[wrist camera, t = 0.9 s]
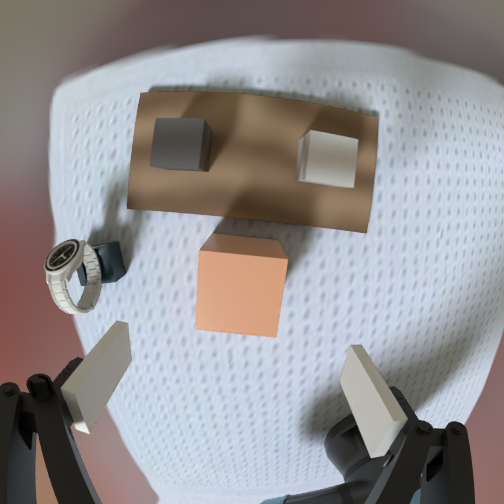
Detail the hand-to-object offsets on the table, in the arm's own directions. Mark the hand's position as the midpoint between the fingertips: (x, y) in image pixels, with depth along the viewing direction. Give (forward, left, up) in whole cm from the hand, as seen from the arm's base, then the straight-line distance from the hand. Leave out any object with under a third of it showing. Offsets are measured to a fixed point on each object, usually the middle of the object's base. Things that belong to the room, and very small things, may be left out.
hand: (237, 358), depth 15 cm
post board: (+13, 0, -19) cm, 23 cm away
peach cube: (0, 0, -19) cm, 19 cm away
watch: (-1, +18, -19) cm, 26 cm away
